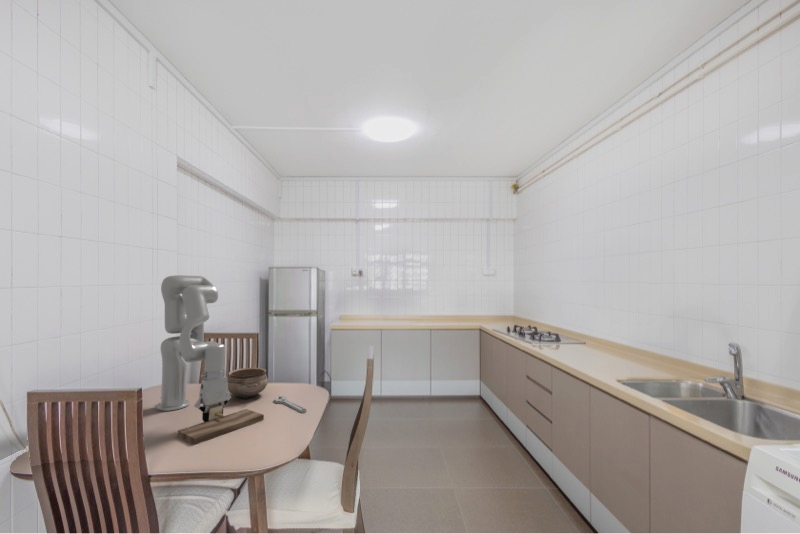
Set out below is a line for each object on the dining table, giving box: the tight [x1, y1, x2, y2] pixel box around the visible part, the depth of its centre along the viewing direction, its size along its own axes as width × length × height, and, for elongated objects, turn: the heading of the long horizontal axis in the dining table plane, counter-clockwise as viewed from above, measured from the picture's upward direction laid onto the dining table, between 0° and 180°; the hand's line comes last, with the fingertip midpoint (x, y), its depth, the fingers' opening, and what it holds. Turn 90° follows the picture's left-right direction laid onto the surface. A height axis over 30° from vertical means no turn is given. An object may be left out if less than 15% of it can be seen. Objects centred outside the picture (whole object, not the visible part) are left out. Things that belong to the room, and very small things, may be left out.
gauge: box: [208, 403, 225, 421], centre depth 145 cm, size 10×5×6 cm, turn 56°
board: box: [177, 408, 265, 445], centre depth 141 cm, size 12×28×2 cm, turn 146°
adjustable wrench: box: [273, 395, 308, 414], centre depth 166 cm, size 25×6×2 cm, turn 42°
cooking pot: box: [227, 367, 269, 400], centre depth 179 cm, size 25×19×12 cm
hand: (212, 419), depth 146 cm, fingers closed on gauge, 5 cm apart
